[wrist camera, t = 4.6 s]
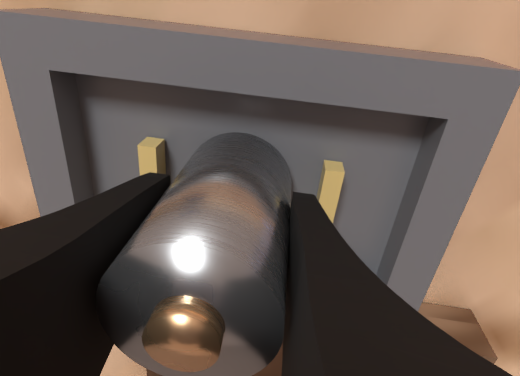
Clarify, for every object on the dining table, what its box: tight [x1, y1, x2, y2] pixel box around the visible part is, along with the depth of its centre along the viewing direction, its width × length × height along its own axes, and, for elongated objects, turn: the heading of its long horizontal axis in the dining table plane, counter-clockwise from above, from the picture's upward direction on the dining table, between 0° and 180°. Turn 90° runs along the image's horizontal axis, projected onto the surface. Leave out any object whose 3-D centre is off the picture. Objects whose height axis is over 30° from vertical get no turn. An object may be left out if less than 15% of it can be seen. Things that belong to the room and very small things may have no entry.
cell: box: [96, 132, 292, 376], centre depth 9 cm, size 4×4×6 cm
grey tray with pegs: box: [0, 8, 520, 311], centre depth 12 cm, size 14×9×3 cm
